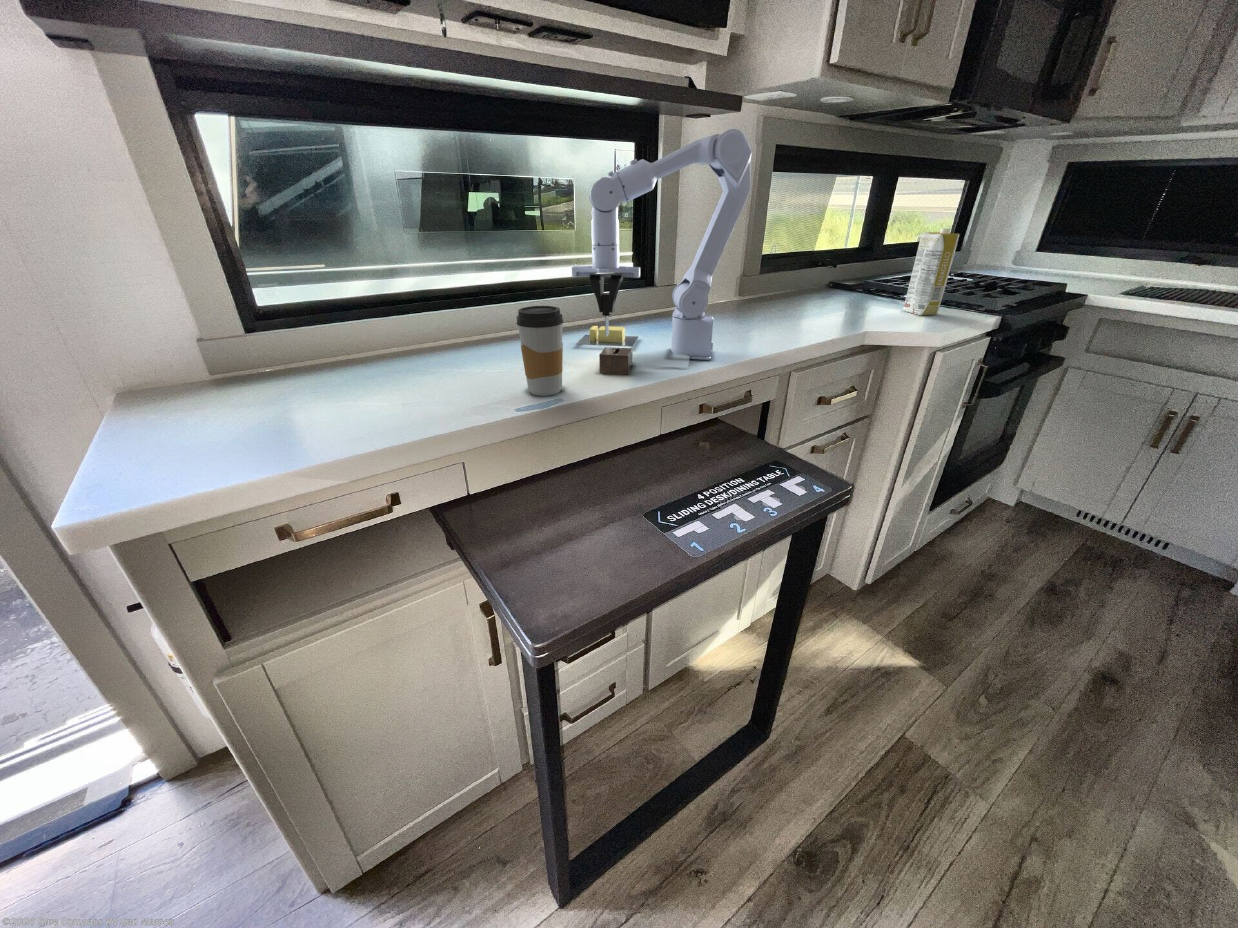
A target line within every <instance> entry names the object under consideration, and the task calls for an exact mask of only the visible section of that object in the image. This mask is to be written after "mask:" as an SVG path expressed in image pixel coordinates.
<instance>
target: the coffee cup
mask: <svg viewBox="0 0 1238 928" xmlns="http://www.w3.org/2000/svg"><path fill="white" fill-rule="evenodd" d="M563 323H564V319H563V314H562V313H561V308H559V306H553V305H531V306H530V305H529V306H525V307H521V308H519V309H518V310H517V315H516V325H517V329H518V335H519V340H520V341H519V342H520V350H521V356H522V362H523V363H522V364H523V370H524V375H525V378H526V384H527V389H528V390H529V393H530V394H532V395H534V396H540V397H541V396H542V397H545V396H546V397H547V396H552V395H557V394H559V393H560V392H561V391H562V390H561V389H562V388H563V370H564V369H563V363H564V362H563V359H564V357H563V356H564V355H563V354H564V353H563V351H564V350H563V349H564V348H563V347H564V345H563Z"/></svg>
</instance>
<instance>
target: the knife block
mask: <svg viewBox="0 0 1238 928" xmlns="http://www.w3.org/2000/svg"><path fill="white" fill-rule="evenodd" d="M633 350H634V349H633V347H613V346H610V347H609V346H605V347H604V348H603V349H602V351H601V352H600V353H599V355H598V357H599V359H598V360H599V374H602V375H623V376H624V375H625V376H628V375H630V372H631V371H632V368H633V366H634V365H633V361H634V357H633V355H634V353H633Z"/></svg>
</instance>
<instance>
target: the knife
mask: <svg viewBox="0 0 1238 928" xmlns="http://www.w3.org/2000/svg"><path fill="white" fill-rule="evenodd" d="M601 313H602V316H603V317H604V326H605V337H607V336H608V334H609V326H610V316H611V315H612V313H609V292H604V293H603V294H602V312H601Z"/></svg>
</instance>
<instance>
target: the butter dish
mask: <svg viewBox="0 0 1238 928" xmlns="http://www.w3.org/2000/svg"><path fill="white" fill-rule="evenodd" d="M638 338H639V335H638V336H637V335H636V336H635V335H633V336H632V335H625V339H624V341H623V342H622V343H617V342H599V341H598V338H597V339H596V340H595V342H590V334H584V335H583V337H581V339H580V340H578V341H577V343H576V345H579V346H581V345H584V346H605V347H609V346H610V347H630V348H633V347H634V345H635V343H636V342H637V340H638Z"/></svg>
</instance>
